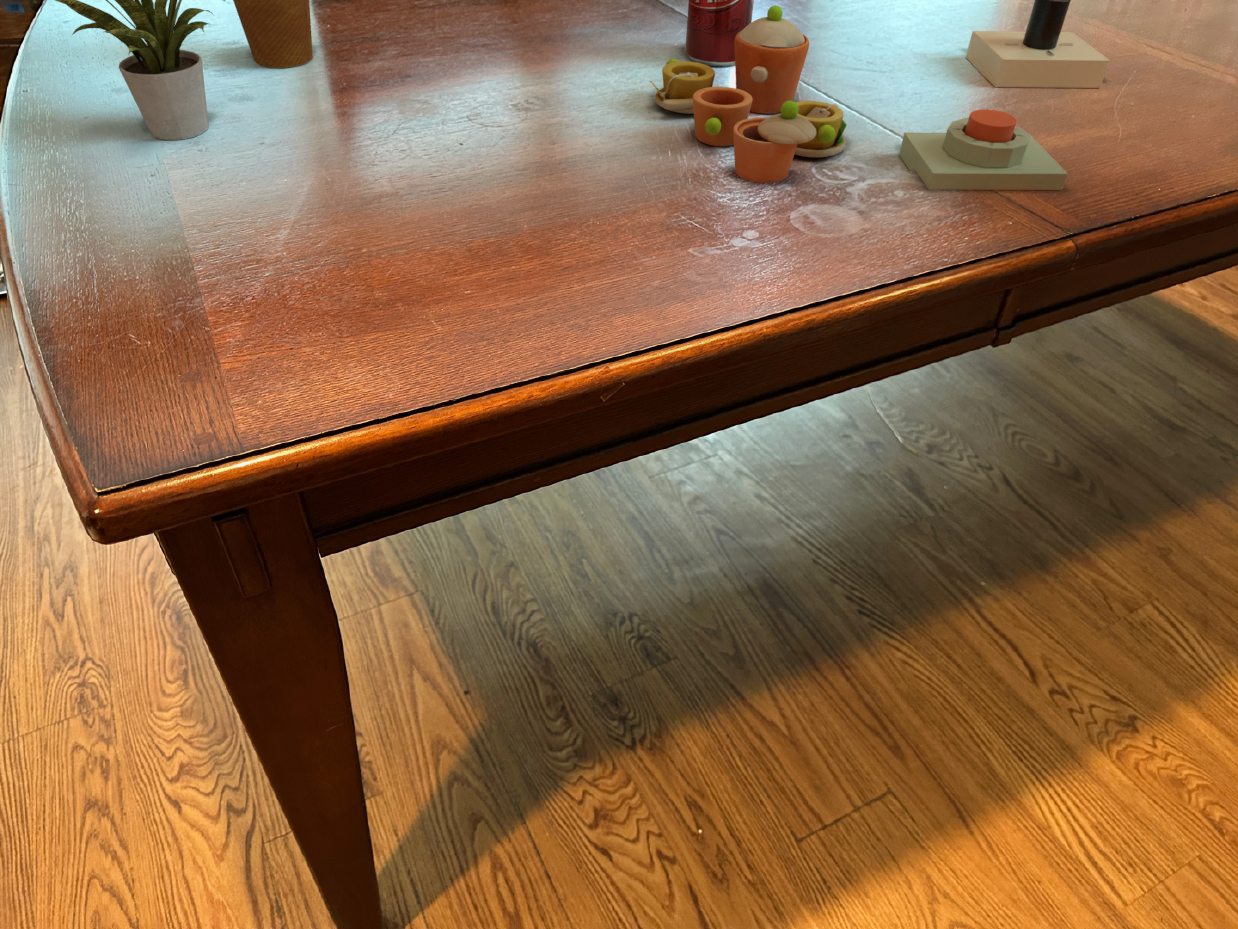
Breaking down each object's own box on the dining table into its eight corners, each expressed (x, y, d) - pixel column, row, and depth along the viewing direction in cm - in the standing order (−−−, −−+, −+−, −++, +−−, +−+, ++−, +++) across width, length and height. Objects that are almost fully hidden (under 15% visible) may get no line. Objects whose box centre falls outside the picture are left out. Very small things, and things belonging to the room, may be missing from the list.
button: (1001, 128, 85) (1007, 109, 84) (1017, 146, 82) (1023, 126, 81) (958, 128, 84) (963, 108, 83) (973, 145, 81) (978, 126, 80)
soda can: (713, 43, 112) (722, -70, 104) (760, 58, 108) (773, -57, 101) (671, 56, 108) (678, -60, 100) (719, 72, 104) (730, -47, 97)
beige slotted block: (1063, 58, 111) (1072, 30, 109) (1100, 87, 104) (1110, 58, 102) (965, 57, 111) (972, 29, 109) (995, 87, 103) (1003, 57, 101)
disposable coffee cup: (222, 58, 104) (192, -63, 96) (295, 39, 109) (272, -76, 101) (271, 80, 99) (244, -46, 91) (345, 59, 105) (325, -61, 97)
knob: (1048, 39, 107) (1064, -11, 103) (1061, 49, 104) (1077, -2, 100) (1017, 39, 106) (1032, -12, 103) (1029, 49, 104) (1045, -3, 100)
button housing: (1021, 155, 89) (1035, 113, 86) (1059, 197, 82) (1075, 153, 80) (898, 154, 88) (908, 112, 86) (926, 196, 82) (938, 152, 79)
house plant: (205, 87, 97) (158, -92, 86) (294, 119, 91) (255, -69, 81) (77, 128, 88) (6, -66, 78) (166, 166, 82) (103, -38, 72)
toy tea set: (639, 95, 99) (642, -4, 92) (773, 83, 102) (785, -13, 96) (733, 201, 80) (746, 87, 74) (893, 182, 84) (918, 72, 77)
